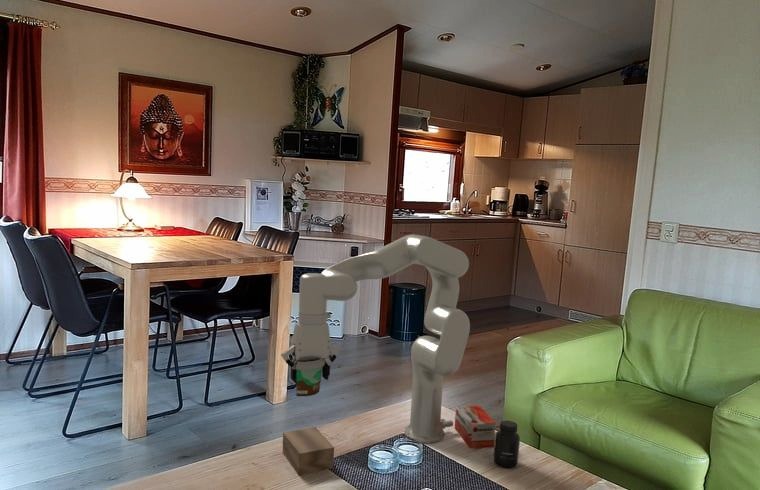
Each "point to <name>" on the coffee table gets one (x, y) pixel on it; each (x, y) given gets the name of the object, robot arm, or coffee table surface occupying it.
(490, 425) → the medicine box
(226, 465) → the coffee table surface
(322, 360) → the food container
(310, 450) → the block
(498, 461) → the supplement bottle
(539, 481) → the coffee table surface
